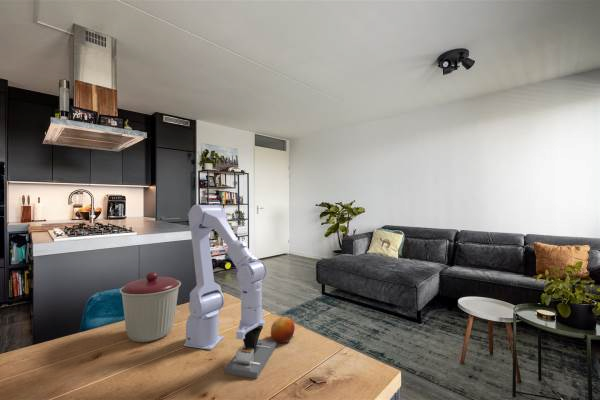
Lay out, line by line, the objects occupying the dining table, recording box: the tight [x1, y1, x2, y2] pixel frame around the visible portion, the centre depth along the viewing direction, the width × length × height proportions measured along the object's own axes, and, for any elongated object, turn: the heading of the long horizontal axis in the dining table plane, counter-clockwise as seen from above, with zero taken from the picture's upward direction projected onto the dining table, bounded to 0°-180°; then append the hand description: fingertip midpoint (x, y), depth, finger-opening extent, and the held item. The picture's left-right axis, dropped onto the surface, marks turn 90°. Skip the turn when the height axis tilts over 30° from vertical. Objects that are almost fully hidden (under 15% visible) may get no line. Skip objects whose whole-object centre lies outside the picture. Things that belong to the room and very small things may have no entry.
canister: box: [119, 271, 182, 343], centre depth 91 cm, size 18×18×21 cm
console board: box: [224, 338, 277, 380], centre depth 77 cm, size 9×16×2 cm, turn 167°
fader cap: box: [235, 346, 254, 366], centre depth 72 cm, size 4×2×4 cm, turn 77°
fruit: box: [270, 316, 296, 344], centre depth 89 cm, size 8×8×8 cm
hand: (250, 353), depth 76 cm, fingers closed
